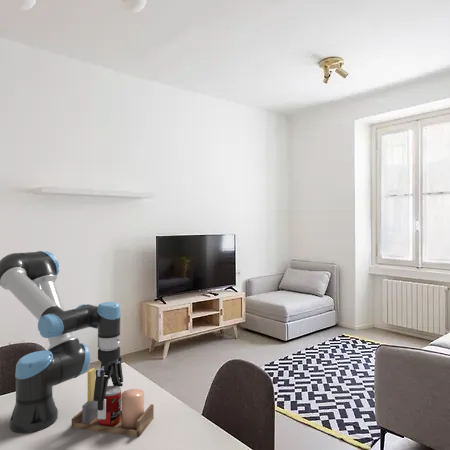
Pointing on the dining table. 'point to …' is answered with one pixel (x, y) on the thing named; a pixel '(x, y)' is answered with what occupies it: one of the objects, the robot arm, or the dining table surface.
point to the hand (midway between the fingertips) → (109, 411)
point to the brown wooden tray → (117, 428)
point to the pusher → (90, 400)
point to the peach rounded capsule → (131, 408)
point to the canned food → (112, 406)
